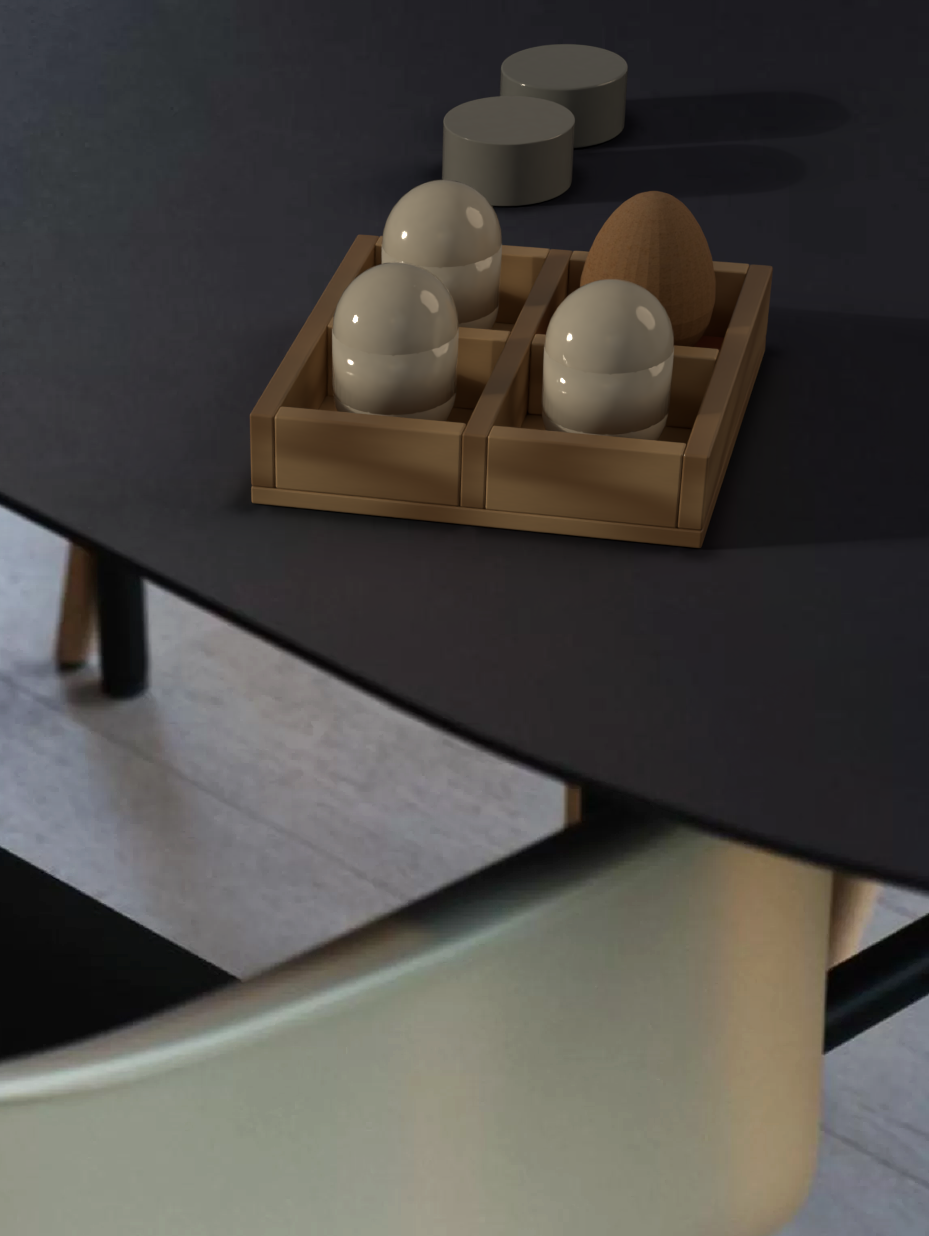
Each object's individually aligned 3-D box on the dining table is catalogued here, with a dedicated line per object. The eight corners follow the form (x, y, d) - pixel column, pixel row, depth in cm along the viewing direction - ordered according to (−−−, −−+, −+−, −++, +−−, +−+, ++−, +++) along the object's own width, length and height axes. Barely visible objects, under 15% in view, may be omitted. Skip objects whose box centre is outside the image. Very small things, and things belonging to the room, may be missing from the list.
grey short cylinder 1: (560, 153, 115) (563, 91, 113) (581, 202, 111) (585, 139, 109) (433, 161, 115) (435, 100, 113) (451, 210, 111) (452, 148, 109)
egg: (627, 329, 100) (639, 156, 96) (735, 364, 98) (751, 188, 94) (547, 374, 98) (556, 198, 94) (656, 410, 95) (669, 232, 92)
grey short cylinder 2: (650, 123, 117) (654, 62, 115) (568, 159, 114) (571, 98, 112) (554, 94, 119) (557, 34, 118) (472, 128, 117) (474, 68, 115)
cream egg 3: (673, 442, 94) (688, 262, 90) (653, 499, 91) (667, 316, 87) (551, 430, 95) (560, 253, 91) (527, 486, 92) (535, 305, 88)
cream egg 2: (467, 423, 96) (472, 246, 92) (440, 478, 93) (445, 298, 89) (348, 412, 97) (349, 237, 93) (319, 466, 94) (318, 288, 90)
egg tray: (764, 351, 100) (773, 265, 98) (701, 549, 90) (709, 456, 88) (357, 318, 104) (357, 233, 102) (251, 504, 93) (249, 413, 91)
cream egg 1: (508, 336, 101) (515, 165, 97) (484, 386, 98) (490, 212, 94) (395, 327, 102) (397, 157, 98) (368, 376, 99) (369, 203, 95)
